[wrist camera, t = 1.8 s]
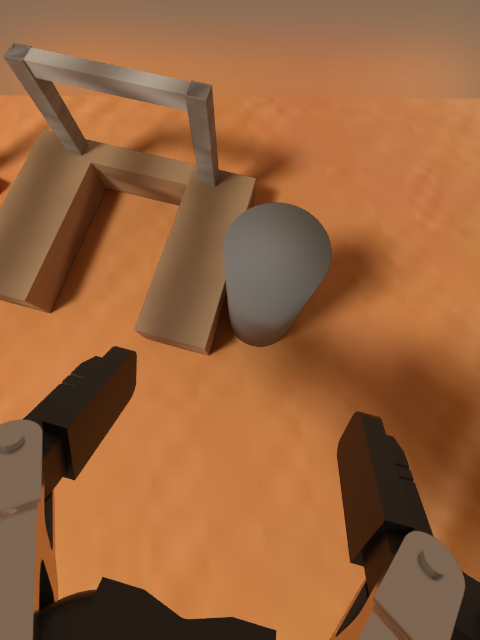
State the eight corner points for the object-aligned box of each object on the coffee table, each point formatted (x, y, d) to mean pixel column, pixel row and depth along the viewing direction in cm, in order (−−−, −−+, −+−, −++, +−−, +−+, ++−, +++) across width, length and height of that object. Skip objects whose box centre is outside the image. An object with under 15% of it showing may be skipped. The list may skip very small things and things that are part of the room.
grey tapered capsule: (295, 296, 25) (340, 215, 14) (282, 353, 23) (320, 312, 13) (238, 282, 25) (238, 192, 14) (222, 337, 24) (210, 284, 13)
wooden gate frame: (253, 202, 27) (263, 90, 17) (208, 355, 23) (188, 322, 14) (63, 157, 28) (-29, 28, 18) (-8, 297, 24) (-170, 228, 15)
